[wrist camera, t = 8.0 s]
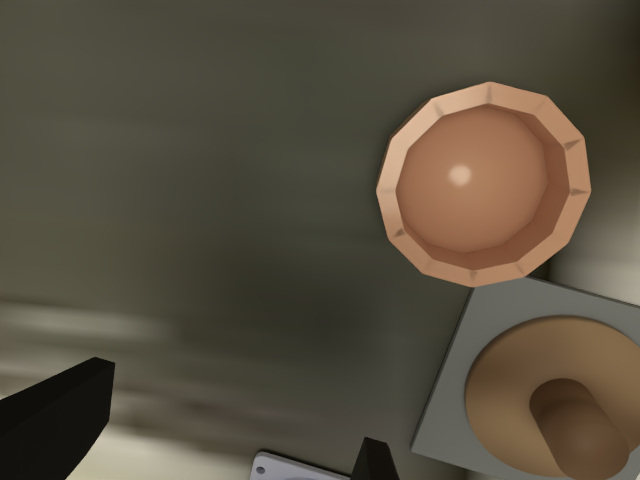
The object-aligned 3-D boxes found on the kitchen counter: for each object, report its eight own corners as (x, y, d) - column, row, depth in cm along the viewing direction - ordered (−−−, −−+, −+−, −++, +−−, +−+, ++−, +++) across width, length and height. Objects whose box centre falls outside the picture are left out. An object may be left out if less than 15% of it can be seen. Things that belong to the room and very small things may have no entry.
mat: (611, 506, 23) (615, 513, 23) (410, 446, 24) (410, 451, 23) (718, 328, 20) (725, 332, 20) (481, 262, 20) (483, 265, 20)
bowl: (517, 279, 21) (539, 306, 18) (359, 235, 21) (357, 255, 18) (586, 115, 18) (625, 116, 15) (408, 69, 19) (413, 61, 16)
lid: (611, 483, 23) (656, 557, 19) (444, 443, 23) (456, 507, 19) (683, 338, 20) (753, 391, 16) (493, 297, 20) (518, 338, 17)
